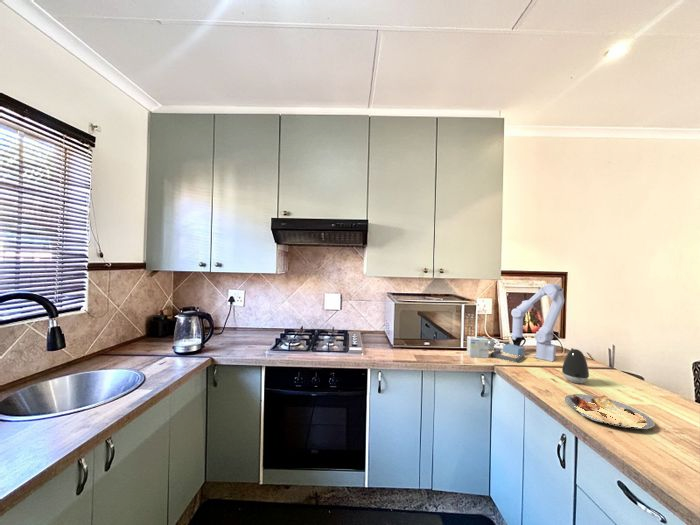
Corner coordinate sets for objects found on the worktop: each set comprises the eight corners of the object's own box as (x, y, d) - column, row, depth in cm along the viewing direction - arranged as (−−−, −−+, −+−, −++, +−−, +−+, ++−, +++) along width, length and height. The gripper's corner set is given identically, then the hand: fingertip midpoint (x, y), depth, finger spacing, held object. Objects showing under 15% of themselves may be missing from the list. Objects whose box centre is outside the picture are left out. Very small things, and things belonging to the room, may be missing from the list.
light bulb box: (484, 354, 183) (485, 336, 183) (488, 358, 177) (489, 339, 177) (466, 353, 184) (466, 335, 184) (469, 357, 177) (470, 338, 177)
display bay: (524, 357, 180) (524, 354, 180) (517, 362, 170) (517, 359, 170) (498, 352, 189) (498, 348, 189) (490, 356, 180) (490, 353, 180)
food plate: (553, 396, 127) (553, 388, 127) (614, 401, 125) (614, 393, 124) (594, 431, 102) (595, 421, 102) (672, 438, 100) (672, 428, 100)
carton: (524, 354, 187) (524, 347, 187) (517, 356, 182) (518, 349, 182) (509, 350, 194) (509, 343, 194) (502, 352, 190) (503, 345, 190)
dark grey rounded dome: (583, 379, 148) (584, 347, 148) (592, 387, 138) (593, 353, 138) (558, 375, 152) (559, 345, 152) (565, 383, 142) (567, 350, 142)
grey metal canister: (495, 349, 196) (495, 340, 196) (492, 351, 192) (493, 341, 192) (487, 347, 199) (487, 338, 199) (484, 349, 195) (484, 339, 195)
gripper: (514, 325, 201) (513, 345, 201) (506, 328, 190) (506, 350, 191) (526, 327, 196) (525, 348, 196) (519, 330, 186) (518, 352, 186)
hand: (516, 349), depth 193 cm, fingers closed
